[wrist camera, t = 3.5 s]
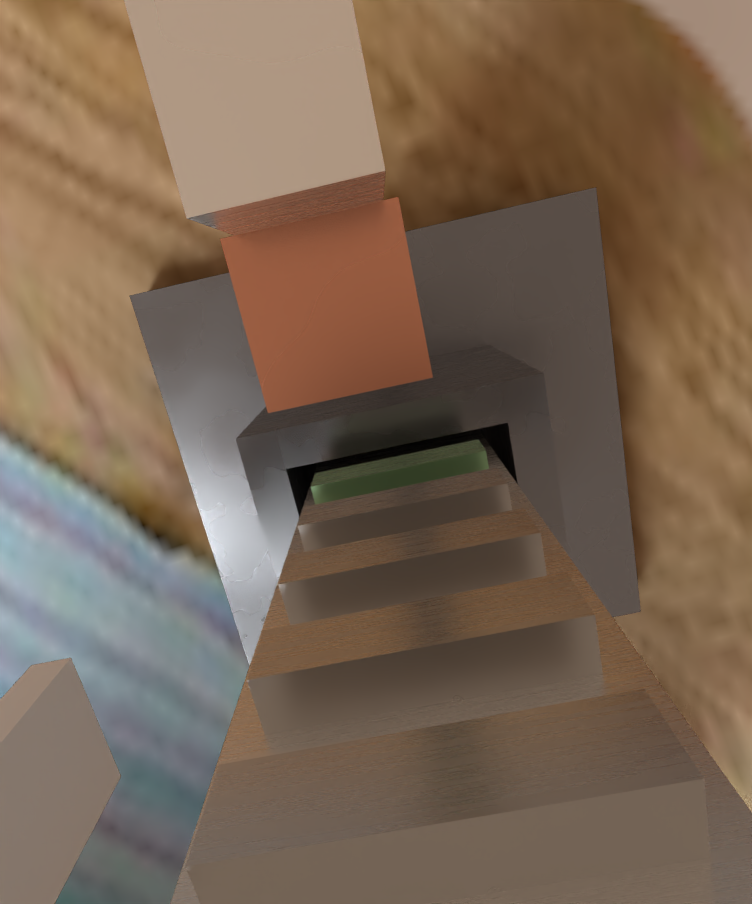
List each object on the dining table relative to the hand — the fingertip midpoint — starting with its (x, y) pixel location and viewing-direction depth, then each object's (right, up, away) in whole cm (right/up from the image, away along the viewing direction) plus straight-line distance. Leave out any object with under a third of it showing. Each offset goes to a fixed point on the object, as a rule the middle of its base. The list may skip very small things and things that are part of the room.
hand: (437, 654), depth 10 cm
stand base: (0, +3, +13) cm, 13 cm away
